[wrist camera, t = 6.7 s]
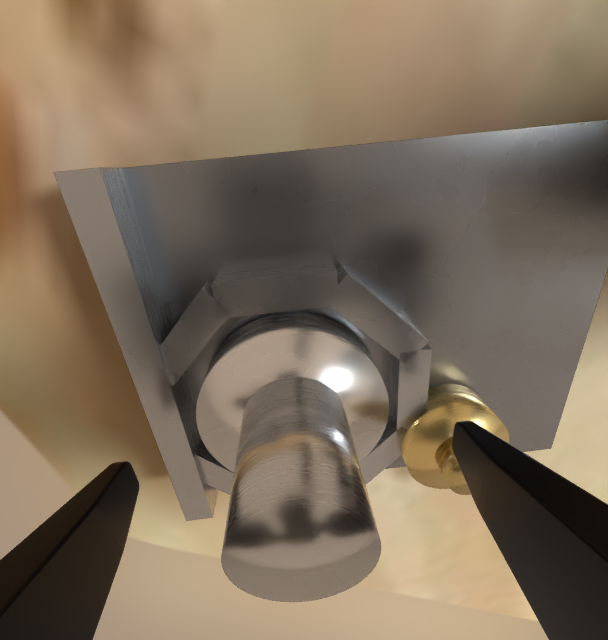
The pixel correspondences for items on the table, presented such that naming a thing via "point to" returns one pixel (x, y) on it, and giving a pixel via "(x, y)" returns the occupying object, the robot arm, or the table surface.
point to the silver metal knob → (295, 454)
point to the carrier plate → (361, 279)
